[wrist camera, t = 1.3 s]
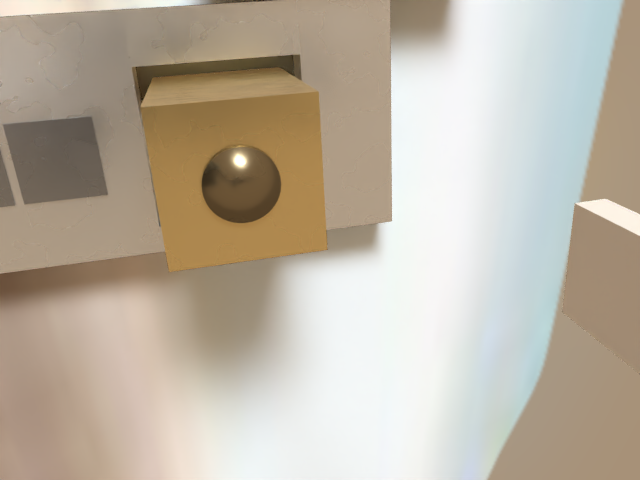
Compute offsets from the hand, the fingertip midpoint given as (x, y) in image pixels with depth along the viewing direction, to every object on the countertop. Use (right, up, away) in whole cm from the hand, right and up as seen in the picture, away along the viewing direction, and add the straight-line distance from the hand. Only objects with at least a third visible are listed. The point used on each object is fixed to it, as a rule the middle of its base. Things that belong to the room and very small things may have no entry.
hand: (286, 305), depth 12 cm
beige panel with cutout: (-7, +7, +16) cm, 19 cm away
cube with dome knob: (-4, +7, +17) cm, 19 cm away
